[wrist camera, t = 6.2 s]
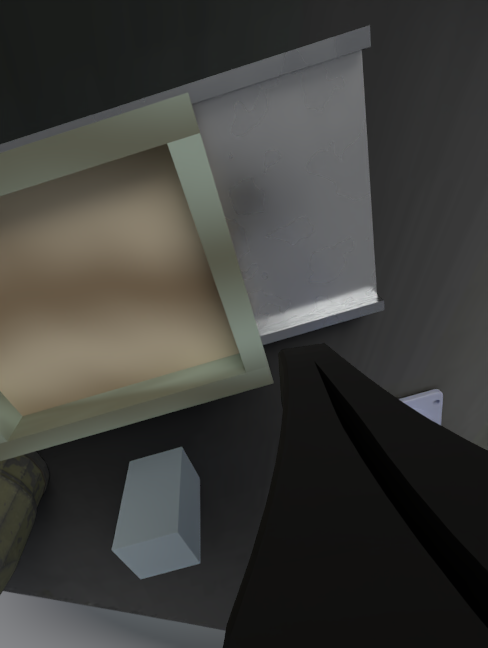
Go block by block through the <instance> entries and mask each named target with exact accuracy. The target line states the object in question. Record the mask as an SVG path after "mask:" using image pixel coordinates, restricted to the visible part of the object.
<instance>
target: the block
mask: <svg viewBox="0 0 488 648" xmlns="http://www.w3.org/2000/svg"><path fill="white" fill-rule="evenodd" d="M112 551H113V552H114V553H115V554H116V555H117V556H118V557H119V558H120V559H121V560H122V561H123V562H124V563H125V564H126V565H127V566H128V567H129V568H130V569H131V570H132V571H133V572H134V573H135V574H136V575H137V576H138V577H139V578H140V579H144V578H148V577H151V576H155V575H159V574H162V573H166V572H170V571H174V570H177V569H181V568H185V567H189V566H192V565H196V564H200V478H199V476H198V474H197V472H196V471H195V469H194V467H193V465H192V464H191V462H190V460H189V458H188V457H187V455H186V453H185V451H184V449H183V448H182V447H179V448H176V449H172V450H169V451H165V452H161V453H158V454H154V455H151V456H147V457H144V458H140V459H136V460H133V461H130V463H129V467H128V472H127V477H126V482H125V487H124V492H123V497H122V502H121V507H120V512H119V517H118V522H117V527H116V532H115V536H114V541H113V546H112Z"/></svg>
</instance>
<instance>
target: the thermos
mask: <svg viewBox="0 0 488 648" xmlns="http://www.w3.org/2000/svg"><path fill="white" fill-rule="evenodd" d="M49 476H50V475H49V471H48V468H47V465H46V462H45V461H44V460H43V459H42V458H41V457H40V455H39V454H38V453H37V452H36V451H34V452H31V453H27V454H24V455H20V456H17V457H13V458H10V459H6V460H3V461H0V594H1V593H2V591H3V590H4V588H5V586H6V585H7V583H8V581H9V580H10V578H11V577H12V575H13V573H14V571H15V569H16V567H17V564H18V562H19V559H20V557H21V554H22V552H23V550H24V547H25V545H26V542H27V540H28V537H29V535H30V533H31V530H32V528H33V525H34V523H35V518H36V514H37V506H38V504H39V501H40V499H41V497H42V496H43V495H44V492H45V490H46V488H47V484H48V480H49Z"/></svg>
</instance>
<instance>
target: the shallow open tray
mask: <svg viewBox="0 0 488 648" xmlns="http://www.w3.org/2000/svg"><path fill="white" fill-rule="evenodd" d="M272 383H274V382H273V379H272V376H271V372H270V369H269V365H268V362H267V358H266V355H265V352H264V348H263V345H262V341H261V338H260V335H259V331H258V328H257V324H256V321H255V318H254V314H253V311H252V307H251V304H250V301H249V297H248V294H247V290H246V287H245V284H244V280H243V277H242V273H241V270H240V267H239V263H238V260H237V256H236V253H235V250H234V246H233V243H232V240H231V236H230V233H229V229H228V226H227V223H226V219H225V216H224V212H223V209H222V206H221V202H220V199H219V195H218V192H217V189H216V185H215V182H214V178H213V175H212V172H211V168H210V165H209V161H208V158H207V155H206V151H205V148H204V144H203V141H202V138H201V134H200V131H199V127H198V124H197V121H196V117H195V114H194V110H193V107H192V104H191V100H190V97H189V94H188V93H185V94H182V95H179V96H175V97H172V98H169V99H166V100H163V101H160V102H157V103H154V104H151V105H148V106H144V107H141V108H138V109H135V110H132V111H129V112H126V113H123V114H120V115H117V116H113V117H110V118H107V119H104V120H101V121H98V122H95V123H92V124H89V125H85V126H82V127H79V128H76V129H73V130H70V131H67V132H64V133H61V134H58V135H54V136H51V137H48V138H45V139H42V140H39V141H36V142H33V143H30V144H26V145H23V146H20V147H17V148H14V149H11V150H8V151H5V152H2V153H0V461H3V460H6V459H10V458H13V457H17V456H20V455H24V454H27V453H31V452H34V451H38V450H41V449H45V448H48V447H52V446H55V445H59V444H62V443H66V442H69V441H73V440H76V439H80V438H83V437H87V436H90V435H94V434H97V433H101V432H104V431H108V430H111V429H115V428H118V427H122V426H125V425H129V424H132V423H136V422H139V421H143V420H146V419H150V418H153V417H157V416H160V415H164V414H167V413H171V412H174V411H178V410H181V409H185V408H188V407H192V406H195V405H199V404H202V403H206V402H209V401H213V400H216V399H220V398H223V397H227V396H230V395H234V394H237V393H241V392H244V391H248V390H251V389H255V388H258V387H262V386H265V385H269V384H272Z"/></svg>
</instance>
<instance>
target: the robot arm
mask: <svg viewBox="0 0 488 648" xmlns="http://www.w3.org/2000/svg"><path fill="white" fill-rule="evenodd" d="M278 357H279V372H280V388H281V401H282V406H283V416H282V426H281V434H280V441H279V447H278V453H277V458H276V463H275V468H274V473H273V477H272V482H271V486H270V490H269V494H268V498H267V502H266V506H265V510H264V513H263V517H262V520H261V524H260V527H259V530H258V534H257V537H256V541H255V544H254V547H253V551H252V554H251V557H250V560H249V563H248V566H247V569H246V572H245V575H244V578H243V580H242V583H241V586H240V589H239V592H238V595H237V598H236V600H235V603H234V606H233V609H232V612H231V615H230V617H229V620H228V623H227V627H226V633H225V640H224V645H223V648H488V451H487V450H485V449H483V448H481V447H479V446H477V445H475V444H474V443H472V442H470V441H468V440H466V439H464V438H462V437H460V436H459V435H457V434H455V433H453V432H451V431H450V430H448V429H446V428H444V427H443V426H441V418H442V403H443V393H442V392H441V391H440V390H439V389H433V390H430V391H426V392H422V393H419V394H415V395H412V396H408V397H405V398H401V399H397V398H396V397H394V396H393V395H391V394H390V393H389V392H387V391H386V390H384V389H383V388H381V387H380V386H379V385H377V384H376V383H375V382H373V381H372V380H371V379H369V378H368V377H367V376H365V375H364V374H363V373H361V372H360V371H359V370H357V369H356V368H355V367H354V366H352V365H351V364H350V363H349V362H347V361H346V360H345V359H344V358H342V357H341V356H340V355H339V354H337V353H336V352H335V351H334V350H332V349H331V348H330V347H328V346H327V345H326V344H325V343H322V344H315V345H309V346H303V347H296V348H290V349H283V350H281V351H280V352H279V353H278Z"/></svg>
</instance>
